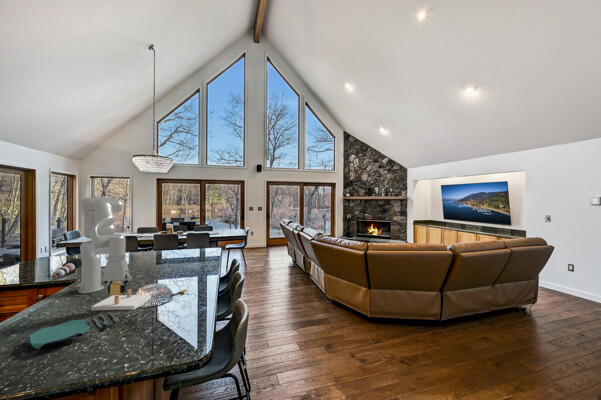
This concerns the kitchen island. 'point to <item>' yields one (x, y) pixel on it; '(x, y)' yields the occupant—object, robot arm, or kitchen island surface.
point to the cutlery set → (63, 331)
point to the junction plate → (121, 302)
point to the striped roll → (67, 267)
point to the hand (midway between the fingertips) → (116, 292)
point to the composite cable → (179, 292)
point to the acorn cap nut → (115, 288)
